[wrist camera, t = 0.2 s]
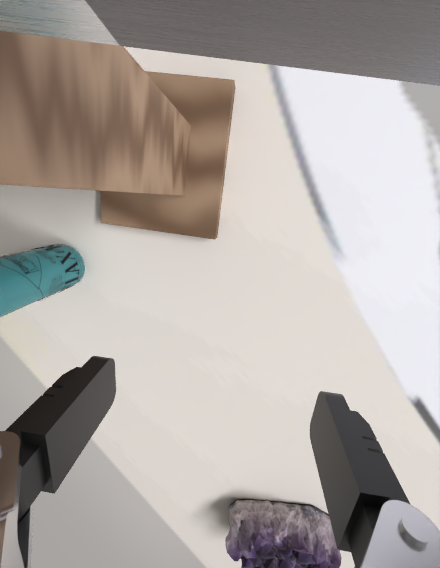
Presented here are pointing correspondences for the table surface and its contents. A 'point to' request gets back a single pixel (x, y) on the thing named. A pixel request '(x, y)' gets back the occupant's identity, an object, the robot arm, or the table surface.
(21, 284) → the beverage bottle
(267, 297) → the table surface
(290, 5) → the steel bar
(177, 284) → the table surface
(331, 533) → the geode
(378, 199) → the table surface
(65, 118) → the walnut pedestal
